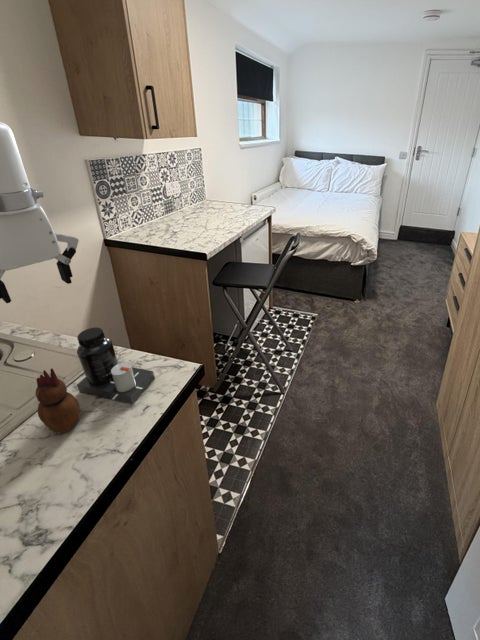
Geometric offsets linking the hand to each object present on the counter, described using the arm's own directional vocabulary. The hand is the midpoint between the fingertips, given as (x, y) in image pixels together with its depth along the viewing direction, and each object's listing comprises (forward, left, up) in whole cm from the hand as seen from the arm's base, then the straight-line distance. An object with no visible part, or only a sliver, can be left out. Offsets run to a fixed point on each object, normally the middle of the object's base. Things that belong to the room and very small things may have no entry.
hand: (38, 290), depth 62 cm
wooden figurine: (+6, -5, -28) cm, 29 cm away
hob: (+4, +7, -27) cm, 28 cm away
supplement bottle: (+1, +6, -25) cm, 26 cm away
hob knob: (+8, +7, -25) cm, 27 cm away
